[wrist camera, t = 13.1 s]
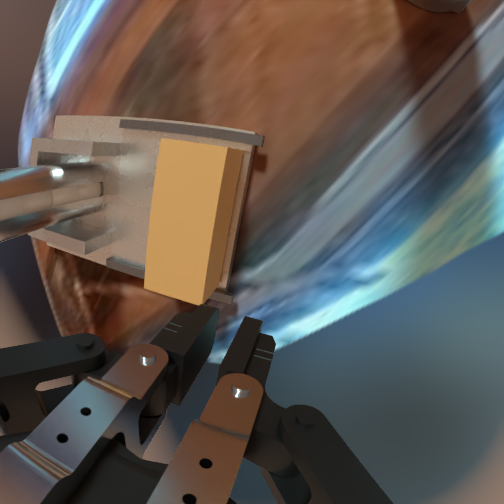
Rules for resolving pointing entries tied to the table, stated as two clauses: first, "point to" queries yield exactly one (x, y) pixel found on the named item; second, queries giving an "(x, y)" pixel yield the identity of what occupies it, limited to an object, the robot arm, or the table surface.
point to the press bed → (132, 185)
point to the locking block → (190, 218)
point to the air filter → (47, 196)
